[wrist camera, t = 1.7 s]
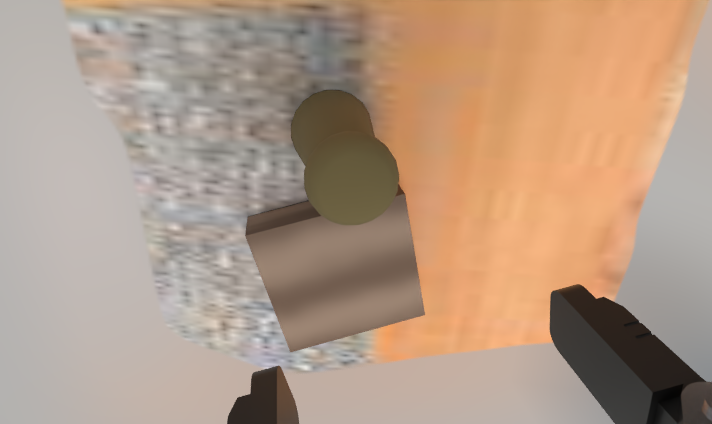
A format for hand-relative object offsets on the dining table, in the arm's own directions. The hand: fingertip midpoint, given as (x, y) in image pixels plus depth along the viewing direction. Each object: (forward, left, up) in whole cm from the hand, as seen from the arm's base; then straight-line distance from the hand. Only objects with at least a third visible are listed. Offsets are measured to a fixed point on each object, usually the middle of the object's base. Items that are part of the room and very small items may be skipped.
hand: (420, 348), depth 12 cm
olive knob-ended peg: (0, 0, -22) cm, 22 cm away
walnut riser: (+11, -2, -22) cm, 25 cm away
